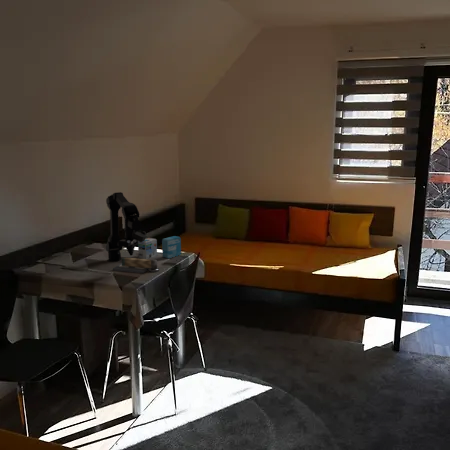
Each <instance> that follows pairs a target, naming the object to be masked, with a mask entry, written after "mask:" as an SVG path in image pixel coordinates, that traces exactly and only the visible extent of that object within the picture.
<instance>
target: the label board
mask: <svg viewBox="0 0 450 450" xmlns="http://www.w3.org/2000/svg"><path fill="white" fill-rule="evenodd" d="M112 271H114V272H115V271H117V272H128V273H137V274H138V273H139V274H144V273H146V272H149V268H144V267H133V266H122V262H121V263H119V264H118V265H116V266H114V267H112Z"/></svg>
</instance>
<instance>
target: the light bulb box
mask: <svg viewBox="0 0 450 450" xmlns="http://www.w3.org/2000/svg"><path fill="white" fill-rule="evenodd" d="M137 242H138V243H137V247H138V248H137V249H138V250H137V251H138V259H149V260H150V259H151V258H154V257H157V256H158V239H156V238H152V237H146V238H145V241H143V242H139V241H137Z"/></svg>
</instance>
